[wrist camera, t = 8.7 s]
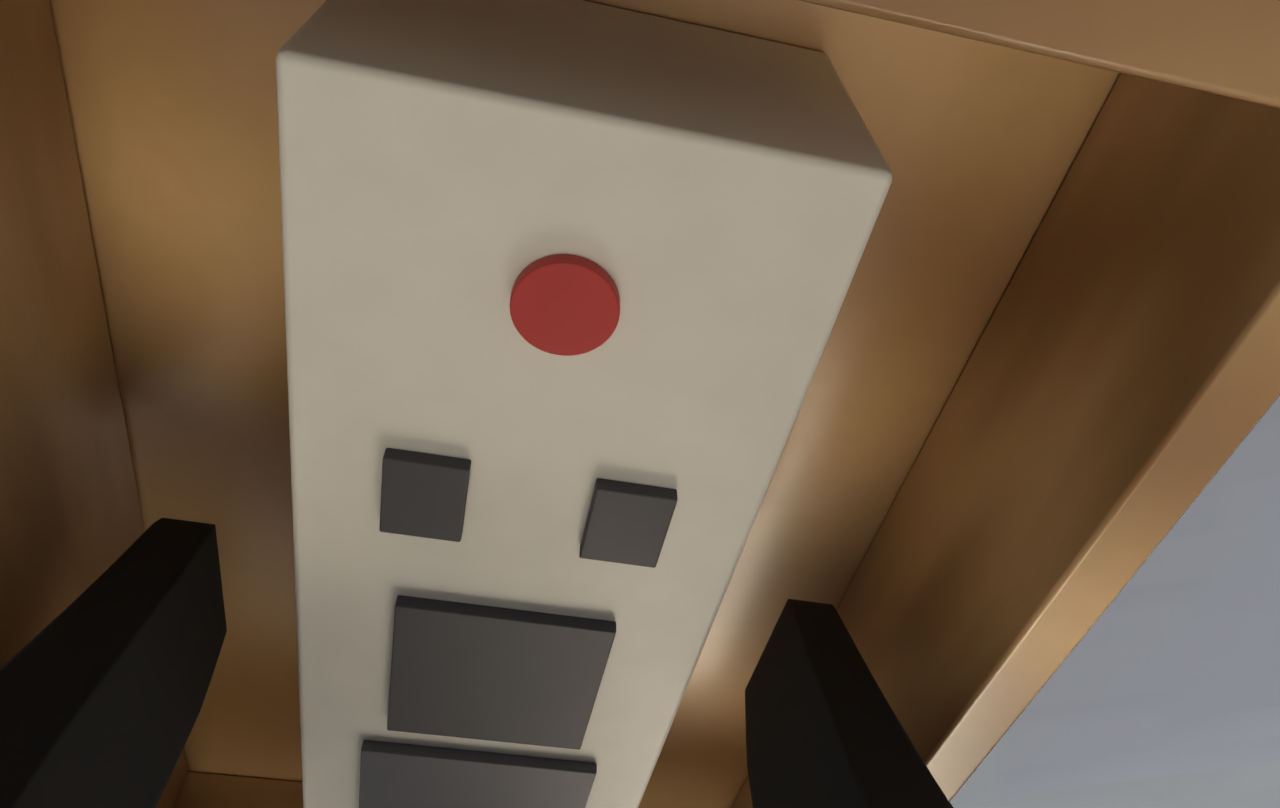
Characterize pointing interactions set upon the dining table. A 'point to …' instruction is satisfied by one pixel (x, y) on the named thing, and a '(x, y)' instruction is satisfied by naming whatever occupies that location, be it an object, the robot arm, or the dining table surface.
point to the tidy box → (833, 405)
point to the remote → (539, 374)
